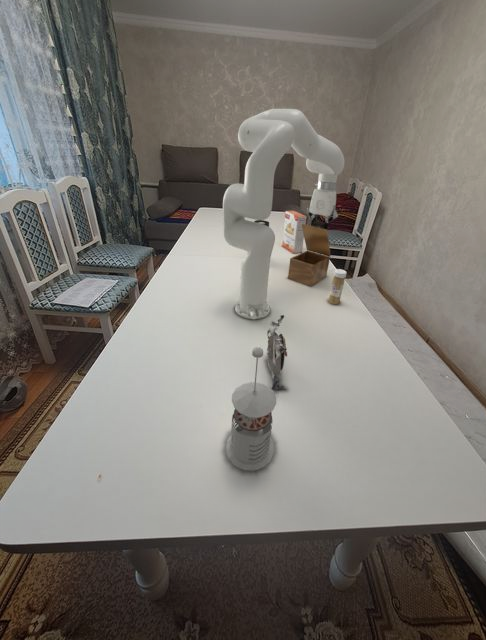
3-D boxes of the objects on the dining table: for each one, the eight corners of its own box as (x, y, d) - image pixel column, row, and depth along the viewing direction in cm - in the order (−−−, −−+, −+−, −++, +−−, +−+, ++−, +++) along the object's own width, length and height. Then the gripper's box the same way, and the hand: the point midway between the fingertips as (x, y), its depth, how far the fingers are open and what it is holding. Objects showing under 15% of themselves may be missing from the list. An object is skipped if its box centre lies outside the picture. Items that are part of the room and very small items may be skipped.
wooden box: (310, 286, 129) (314, 265, 124) (287, 278, 134) (290, 258, 130) (326, 276, 140) (330, 257, 135) (304, 269, 146) (307, 250, 141)
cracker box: (281, 245, 176) (285, 210, 166) (290, 245, 179) (294, 210, 169) (293, 253, 165) (297, 216, 155) (302, 252, 168) (307, 215, 158)
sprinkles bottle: (326, 301, 117) (332, 270, 111) (331, 298, 120) (338, 267, 114) (336, 305, 114) (343, 274, 108) (341, 302, 118) (348, 271, 111)
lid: (326, 230, 122) (332, 222, 123) (301, 224, 128) (307, 216, 129) (329, 256, 135) (335, 248, 137) (306, 250, 141) (312, 242, 143)
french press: (215, 451, 58) (214, 351, 46) (249, 413, 66) (256, 320, 54) (256, 481, 53) (267, 379, 41) (287, 436, 62) (303, 340, 50)
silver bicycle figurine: (288, 390, 74) (294, 348, 67) (271, 390, 73) (276, 348, 67) (279, 352, 87) (284, 314, 80) (265, 352, 86) (268, 314, 80)
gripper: (304, 184, 123) (298, 227, 131) (342, 190, 114) (333, 235, 123) (312, 183, 128) (306, 224, 137) (349, 188, 120) (340, 232, 128)
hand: (319, 229), depth 130 cm, fingers closed on lid, 5 cm apart
